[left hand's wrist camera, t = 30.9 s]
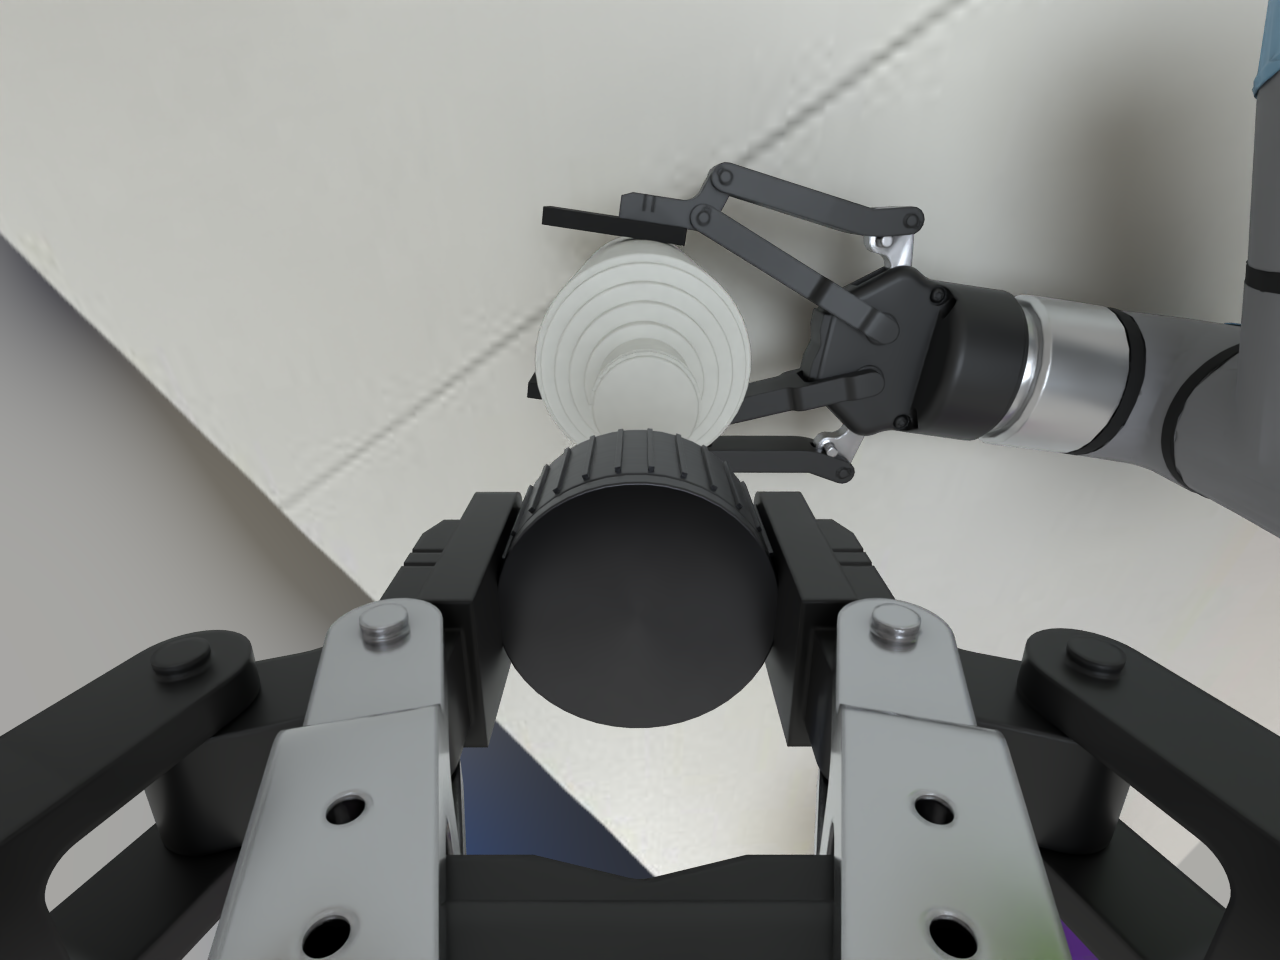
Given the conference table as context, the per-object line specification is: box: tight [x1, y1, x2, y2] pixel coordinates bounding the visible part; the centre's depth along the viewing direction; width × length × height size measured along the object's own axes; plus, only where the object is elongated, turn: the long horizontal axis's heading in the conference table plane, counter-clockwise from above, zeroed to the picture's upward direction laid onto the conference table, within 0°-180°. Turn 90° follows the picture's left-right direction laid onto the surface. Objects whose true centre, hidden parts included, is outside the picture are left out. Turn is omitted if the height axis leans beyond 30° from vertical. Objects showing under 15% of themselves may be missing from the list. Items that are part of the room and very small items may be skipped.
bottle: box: [535, 237, 751, 446], centre depth 29 cm, size 7×7×23 cm
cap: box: [497, 428, 778, 728], centre depth 11 cm, size 4×4×2 cm
